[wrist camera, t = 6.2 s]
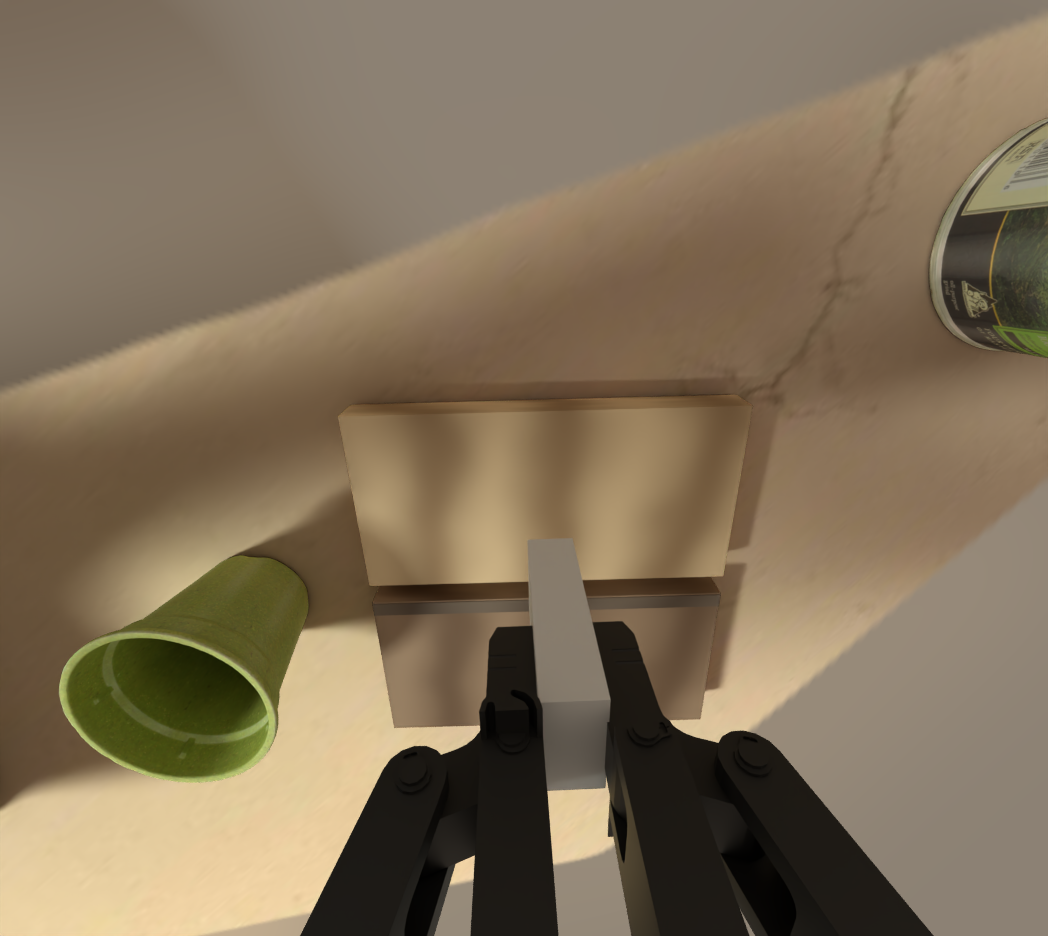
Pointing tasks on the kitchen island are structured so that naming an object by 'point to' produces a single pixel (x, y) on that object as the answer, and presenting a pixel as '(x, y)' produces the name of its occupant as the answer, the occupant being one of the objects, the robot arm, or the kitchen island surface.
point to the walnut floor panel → (479, 608)
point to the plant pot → (192, 675)
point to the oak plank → (545, 485)
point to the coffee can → (998, 250)
